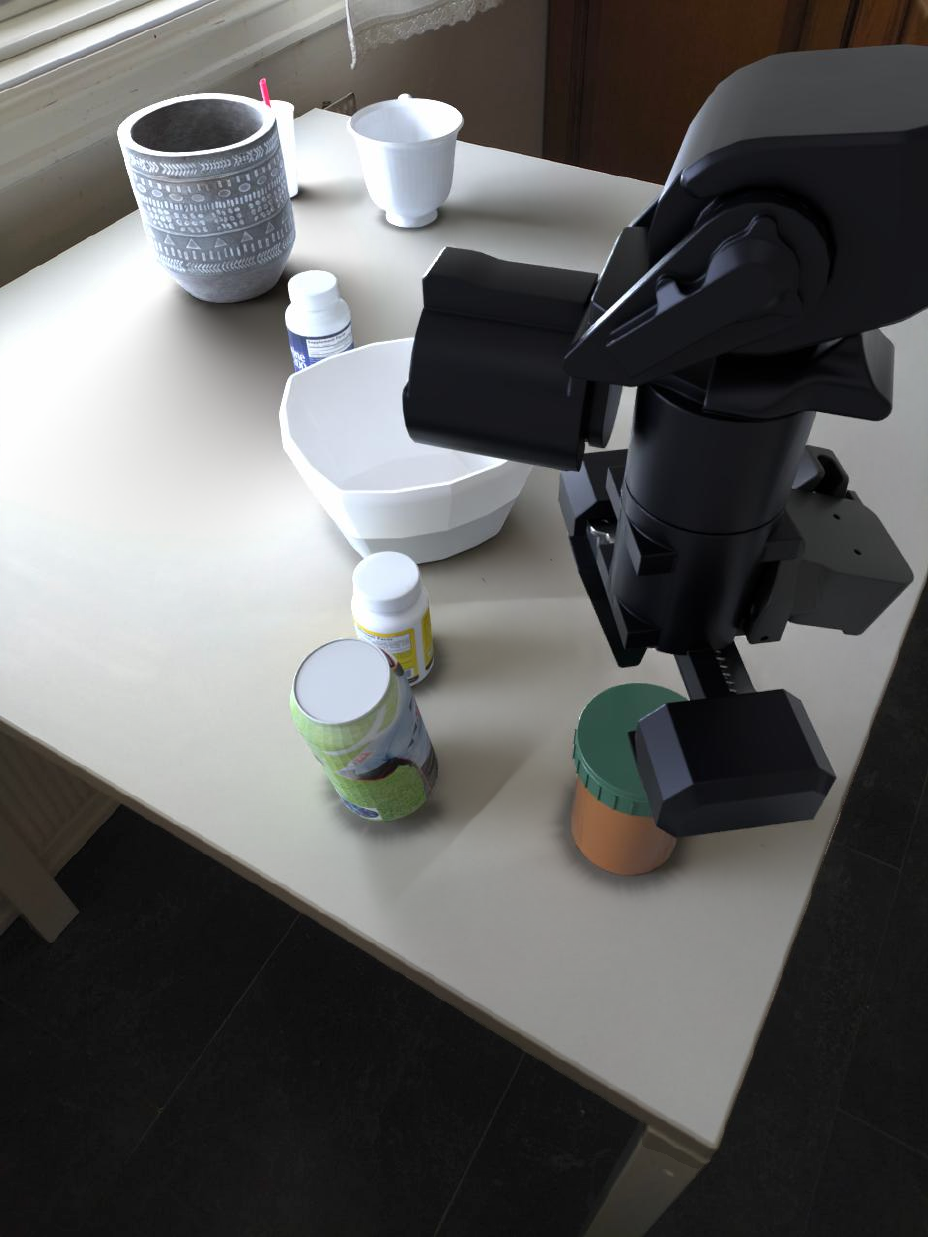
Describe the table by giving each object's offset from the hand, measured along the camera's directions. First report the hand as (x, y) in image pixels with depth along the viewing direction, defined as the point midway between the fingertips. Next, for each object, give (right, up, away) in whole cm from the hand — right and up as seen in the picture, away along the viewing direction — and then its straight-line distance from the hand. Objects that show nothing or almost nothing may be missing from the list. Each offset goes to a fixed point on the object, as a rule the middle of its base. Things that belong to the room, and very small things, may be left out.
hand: (648, 727), depth 44 cm
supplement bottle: (-13, +2, +16) cm, 21 cm away
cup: (-30, +55, +61) cm, 88 cm away
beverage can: (-14, -5, +10) cm, 18 cm away
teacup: (-15, +51, +58) cm, 79 cm away
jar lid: (0, -1, +1) cm, 1 cm away
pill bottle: (-21, +26, +36) cm, 49 cm away
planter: (-33, +40, +49) cm, 71 cm away
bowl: (-13, +14, +25) cm, 32 cm away
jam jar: (0, -6, +8) cm, 10 cm away
